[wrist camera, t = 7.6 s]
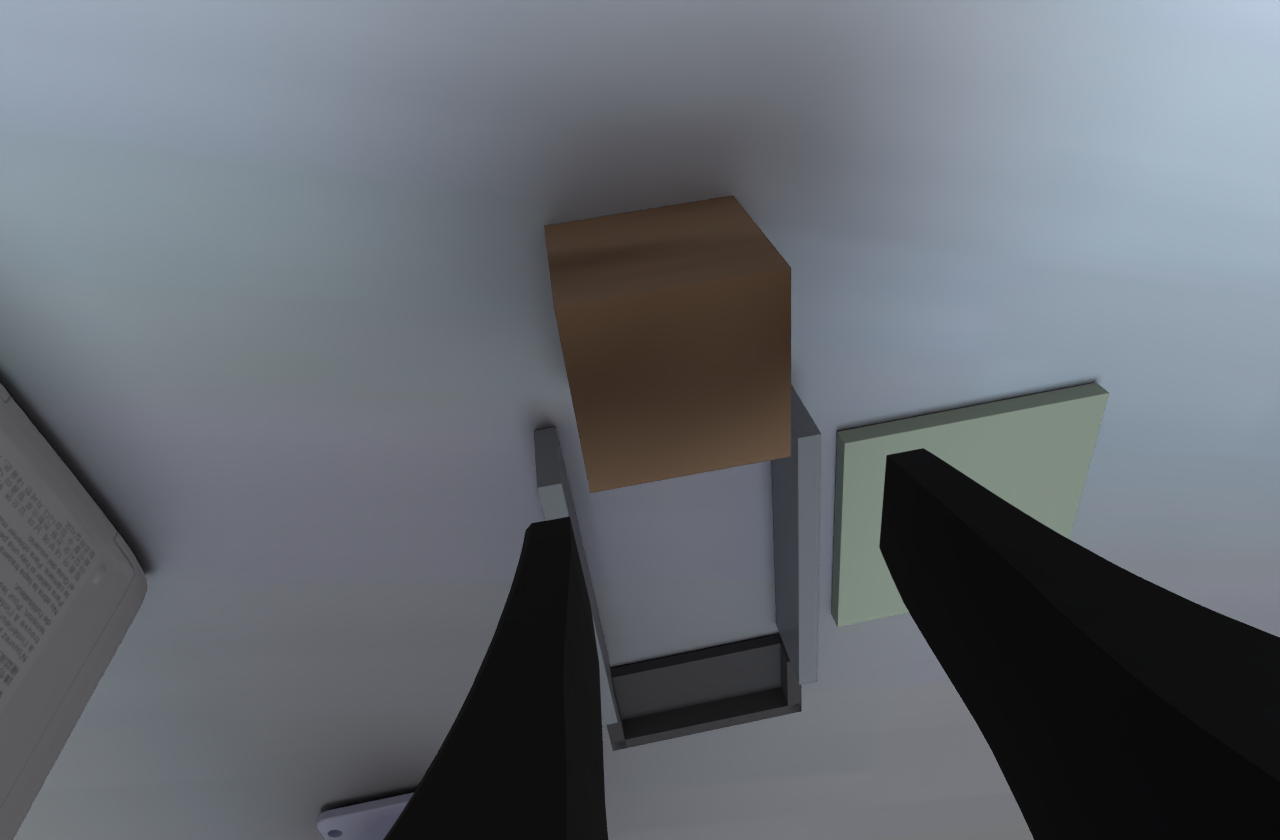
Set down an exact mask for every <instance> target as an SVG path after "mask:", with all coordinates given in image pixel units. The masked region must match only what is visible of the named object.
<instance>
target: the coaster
mask: <svg viewBox="0 0 1280 840" xmlns="http://www.w3.org/2000/svg"><path fill="white" fill-rule="evenodd" d="M1108 396H1109V392H1107V391H1106V390H1105V389H1104V388H1102V387H1101V386H1100V385H1099V384H1097V383H1091V384H1086V385H1081V386H1075V387H1070V388H1065V389H1060V390H1054V391H1049V392H1044V393H1039V394H1033V395H1028V396H1023V397H1018V398H1012V399H1007V400H1002V401H997V402H991V403H986V404H981V405H976V406H970V407H965V408H960V409H955V410H949V411H944V412H939V413H934V414H928V415H923V416H918V417H913V418H907V419H902V420H897V421H892V422H886V423H881V424H876V425H871V426H865V427H860V428H855V429H850V430H844V431H839V432H837V457H836V488H835V519H834V551H833V582H832V613H831V614H832V616H833V619H834V621H835V623H836V625H837V627H842V626H847V625H851V624H856V623H861V622H866V621H871V620H876V619H881V618H886V617H891V616H896V615H900V614H905V613H909V611H908V609H907V608H906V606H905V604H904V603H903V600H902V598H901V596H900V594H899V592H898V590H897V587H896V585H895V583H894V581H893V579H892V576H891V574H890V572H889V569H888V567H887V565H886V562H885V560H884V558H883V555H882V553H881V551H880V548H879V544H880V532H881V519H882V506H883V494H884V481H885V469H886V456H887V455H890V454H895V453H901V452H906V451H911V450H916V449H921V448H924V449H926V450H927V451H929V452H931V453H932V454H934V455H935V456H937V457H939V458H940V459H942V460H943V461H945V462H946V463H948V464H949V465H951V466H952V467H954V468H956V469H957V470H959V471H960V472H962V473H963V474H965V475H966V476H968V477H969V478H971V479H972V480H974V481H975V482H977V483H979V484H980V485H982V486H983V487H985V488H986V489H988V490H989V491H991V492H992V493H994V494H995V495H997V496H999V497H1000V498H1002V499H1003V500H1005V501H1006V502H1008V503H1010V504H1011V505H1013V506H1014V507H1016V508H1018V509H1019V510H1021V511H1022V512H1024V513H1026V514H1027V515H1029V516H1031V517H1032V518H1034V519H1035V520H1037V521H1039V522H1040V523H1042V524H1044V525H1045V526H1047V527H1049V528H1050V529H1052V530H1054V531H1056V532H1057V533H1059V534H1061V535H1062V536H1064V537H1066V538H1068V539H1069V538H1070V534H1071V530H1072V527H1073V523H1074V520H1075V516H1076V512H1077V509H1078V505H1079V501H1080V498H1081V494H1082V490H1083V487H1084V483H1085V480H1086V476H1087V472H1088V469H1089V465H1090V461H1091V458H1092V454H1093V450H1094V447H1095V443H1096V439H1097V436H1098V432H1099V429H1100V425H1101V421H1102V418H1103V414H1104V410H1105V407H1106V403H1107V399H1108Z"/></svg>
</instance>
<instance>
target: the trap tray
mask: <svg viewBox="0 0 1280 840" xmlns="http://www.w3.org/2000/svg"><path fill="white" fill-rule="evenodd" d="M610 671H611V678H612V685H613V692H614V699H615V707H616V714H617V721H618V723H613V724H608V725H607V728H608V732H609V736H610V740H611V744H612V748H613V751H614V750H619V749H624V748H629V747H633V746H638V745H643V744H648V743H652V742H657V741H662V740H667V739H672V738H676V737H681V736H686V735H691V734H695V733H700V732H705V731H710V730H714V729H719V728H724V727H729V726H733V725H738V724H743V723H748V722H753V721H757V720H762V719H767V718H772V717H776V716H781V715H786V714H791V713H795V712H800V711H801V685H799V683H798V680H797V678H796V675H795V673H794V670H793V667H792V665H791V662H790V659H789V657H788V654H787V652H786V649H785V646H784V644H783V641H782V638H781V636H780V634H777V635H773V636H768V637H763V638H758V639H753V640H748V641H743V642H738V643H733V644H728V645H723V646H719V647H714V648H709V649H704V650H699V651H694V652H689V653H684V654H679V655H674V656H670V657H665V658H660V659H655V660H650V661H645V662H640V663H635V664H630V665H625V666H621V667H616V668H611V669H610Z"/></svg>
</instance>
